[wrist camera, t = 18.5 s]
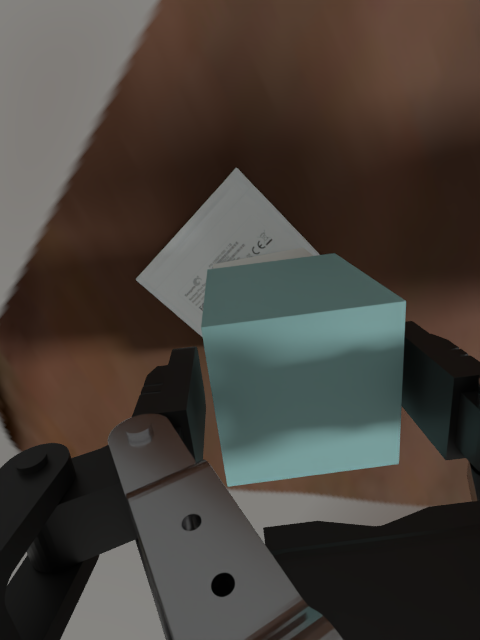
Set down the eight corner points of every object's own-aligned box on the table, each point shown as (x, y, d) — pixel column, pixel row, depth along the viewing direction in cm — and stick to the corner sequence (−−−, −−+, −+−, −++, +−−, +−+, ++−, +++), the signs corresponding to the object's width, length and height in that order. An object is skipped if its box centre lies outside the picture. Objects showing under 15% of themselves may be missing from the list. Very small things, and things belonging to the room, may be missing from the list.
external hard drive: (282, 397, 26) (138, 274, 22) (376, 314, 24) (235, 167, 21) (287, 411, 24) (133, 281, 21) (386, 324, 23) (237, 166, 19)
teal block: (334, 253, 15) (405, 301, 9) (337, 366, 17) (399, 463, 11) (207, 269, 15) (201, 327, 9) (224, 381, 17) (227, 486, 11)
